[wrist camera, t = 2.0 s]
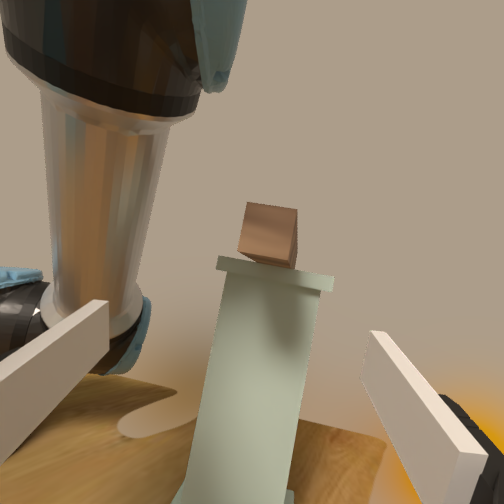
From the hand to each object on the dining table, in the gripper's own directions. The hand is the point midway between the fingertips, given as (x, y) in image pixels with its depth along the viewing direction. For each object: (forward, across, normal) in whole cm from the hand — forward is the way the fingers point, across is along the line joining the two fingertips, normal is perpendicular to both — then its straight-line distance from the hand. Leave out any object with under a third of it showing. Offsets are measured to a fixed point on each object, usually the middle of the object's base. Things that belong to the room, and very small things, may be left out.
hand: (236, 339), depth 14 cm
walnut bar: (+18, +3, -1) cm, 18 cm away
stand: (+12, +1, -30) cm, 33 cm away
